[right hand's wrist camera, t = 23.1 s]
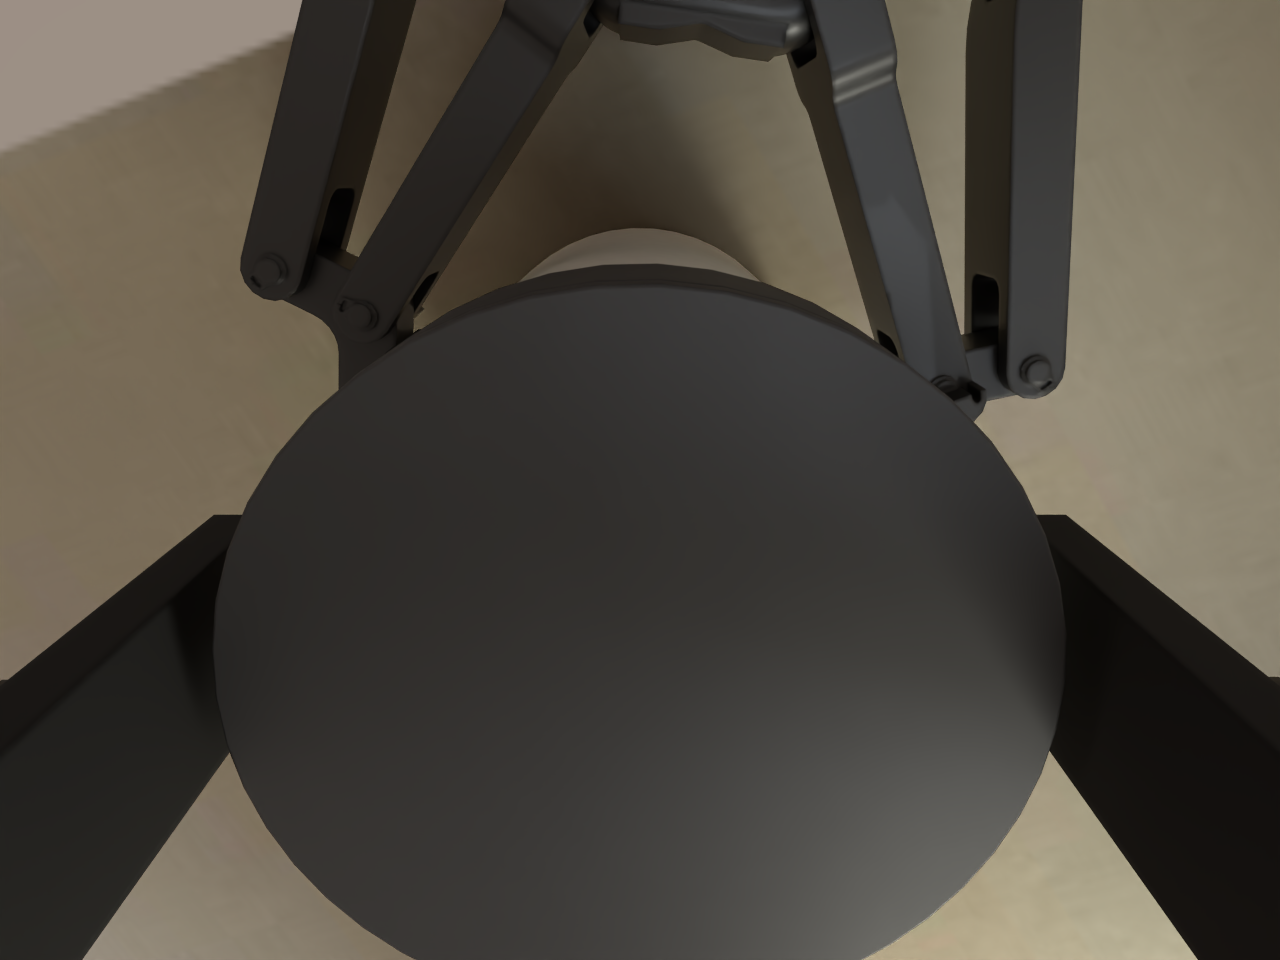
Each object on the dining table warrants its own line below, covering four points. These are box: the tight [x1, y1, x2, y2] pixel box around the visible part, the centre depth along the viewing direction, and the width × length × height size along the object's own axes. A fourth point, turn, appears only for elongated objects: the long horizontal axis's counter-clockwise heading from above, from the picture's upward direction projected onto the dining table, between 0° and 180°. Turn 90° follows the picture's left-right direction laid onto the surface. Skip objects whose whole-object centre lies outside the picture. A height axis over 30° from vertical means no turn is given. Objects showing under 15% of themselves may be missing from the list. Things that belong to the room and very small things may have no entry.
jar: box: [519, 228, 761, 282], centre depth 18 cm, size 10×10×15 cm
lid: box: [212, 263, 1066, 960], centre depth 11 cm, size 10×10×2 cm
